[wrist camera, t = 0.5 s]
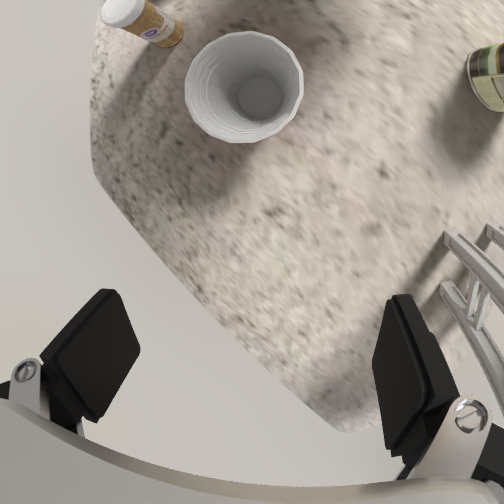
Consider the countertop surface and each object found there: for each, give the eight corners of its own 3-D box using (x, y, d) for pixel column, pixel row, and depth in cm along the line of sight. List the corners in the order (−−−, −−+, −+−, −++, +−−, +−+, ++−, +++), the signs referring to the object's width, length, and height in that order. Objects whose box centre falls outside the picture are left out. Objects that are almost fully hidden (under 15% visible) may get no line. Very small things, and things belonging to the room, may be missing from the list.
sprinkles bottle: (164, 53, 30) (107, 32, 18) (150, 34, 28) (93, 9, 16) (191, 34, 28) (143, 2, 16) (175, 14, 27) (126, -19, 15)
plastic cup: (223, 54, 29) (191, 26, 19) (308, 66, 29) (314, 39, 18) (210, 131, 34) (172, 135, 23) (292, 145, 34) (291, 155, 23)
